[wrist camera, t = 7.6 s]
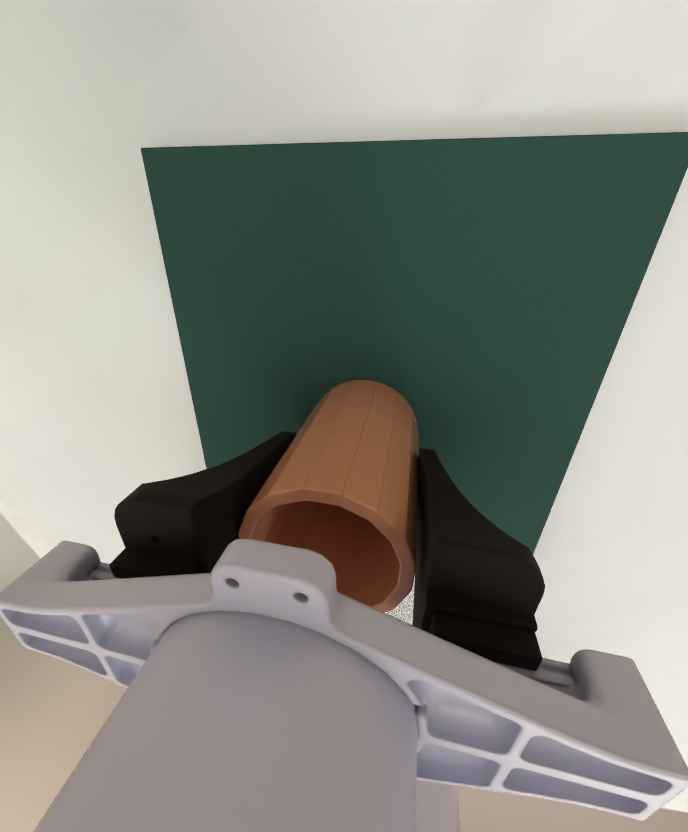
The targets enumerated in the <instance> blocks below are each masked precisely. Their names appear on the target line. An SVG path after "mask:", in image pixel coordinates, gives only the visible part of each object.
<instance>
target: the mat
mask: <svg viewBox="0 0 688 832" xmlns="http://www.w3.org/2000/svg"><path fill="white" fill-rule="evenodd" d="M141 152H142V157H143V162H144V166H145V171H146V176H147V181H148V186H149V191H150V196H151V200H152V205H153V210H154V215H155V220H156V225H157V230H158V234H159V239H160V244H161V249H162V254H163V259H164V264H165V268H166V273H167V278H168V283H169V288H170V293H171V298H172V303H173V307H174V312H175V317H176V322H177V327H178V332H179V337H180V341H181V346H182V351H183V356H184V361H185V366H186V371H187V375H188V380H189V385H190V390H191V395H192V400H193V405H194V410H195V414H196V419H197V424H198V429H199V434H200V439H201V444H202V448H203V453H204V458H205V463H206V468H207V469H209V468H212V467H215V466H217V465H220V464H222V463H224V462H227V461H229V460H231V459H233V458H236V457H238V456H239V455H241V454H243V453H245V452H247V451H249V450H251V449H253V448H255V447H256V446H258V445H260V444H261V443H263V442H265V441H267V440H268V439H270V438H272V437H273V436H275V435H277V434H278V433H280V432H282V431H288V432H296V435H297V433H298V432H299V430H300V429H301V427H302V426H303V424H304V423H305V421H306V420H307V418H308V417H309V415H310V414H311V412H312V411H313V409H314V408H315V406H316V405H317V403H318V402H319V401H320V400H321V399H322V397H323V396H324V395H325V394H326V393H327V392H328V391H329V390H331V389H332V388H333V387H335V386H337V385H339V384H342V383H344V382H348V381H352V380H370V381H376V382H379V383H382V384H385V385H387V386H389V387H391V388H393V389H394V390H396V391H397V392H398V393H400V394H401V395H402V396H403V397H404V398H405V399H406V400H407V402H408V403H409V404H410V406H411V407H412V409H413V411H414V413H415V416H416V419H417V424H418V431H419V443H418V457H419V450H420V448H424V449H432V450H435V451H436V453H437V455H438V457H439V459H440V461H441V463H442V465H443V466H444V468H445V470H446V471H447V473H448V475H449V476H450V478H451V479H452V481H453V482H454V484H455V485H456V486H457V488H458V489H459V490H460V492H461V493H462V494H463V495H464V497H465V498H466V499H467V500H468V501H469V502H470V503H471V504H472V505H473V506H474V507H475V508H476V509H477V510H478V511H479V512H480V513H481V514H482V515H483V516H485V517H486V518H487V519H488V520H489V521H490V522H492V523H493V524H494V525H495V526H497V527H498V528H500V529H501V530H502V531H504V532H505V533H506V534H508V535H509V536H511V537H513V538H514V539H516V540H517V541H519V542H521V543H522V544H524V545H525V546H527V547H529V548H530V550H531V552H532V554H533V553H534V551H535V548H536V546H537V543H538V541H539V538H540V536H541V533H542V531H543V528H544V526H545V523H546V521H547V518H548V516H549V513H550V511H551V508H552V505H553V503H554V500H555V498H556V495H557V493H558V490H559V488H560V485H561V483H562V480H563V478H564V475H565V473H566V470H567V468H568V465H569V463H570V460H571V458H572V455H573V453H574V450H575V448H576V445H577V443H578V440H579V438H580V435H581V433H582V430H583V428H584V425H585V423H586V420H587V418H588V415H589V413H590V410H591V408H592V405H593V403H594V400H595V398H596V395H597V393H598V390H599V388H600V385H601V383H602V380H603V378H604V375H605V373H606V370H607V368H608V365H609V363H610V360H611V358H612V355H613V353H614V350H615V348H616V345H617V343H618V340H619V338H620V335H621V333H622V330H623V328H624V325H625V323H626V320H627V318H628V315H629V313H630V310H631V308H632V305H633V303H634V300H635V298H636V295H637V293H638V290H639V288H640V285H641V283H642V280H643V278H644V275H645V273H646V270H647V268H648V265H649V263H650V260H651V258H652V255H653V253H654V250H655V248H656V245H657V243H658V240H659V238H660V235H661V233H662V230H663V228H664V225H665V223H666V220H667V218H668V215H669V213H670V210H671V208H672V205H673V203H674V200H675V198H676V195H677V193H678V190H679V188H680V185H681V183H682V180H683V178H684V175H685V173H686V170H687V168H688V132H675V133H640V134H606V135H571V136H537V137H503V138H468V139H434V140H400V141H365V142H331V143H297V144H262V145H228V146H193V147H159V148H141Z"/></svg>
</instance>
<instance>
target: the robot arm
mask: <svg viewBox="0 0 688 832" xmlns="http://www.w3.org/2000/svg"><path fill="white" fill-rule="evenodd" d="M295 436H296V432H288V431H282V432H280V433H278V434H277V435H275V436H273V437H272V438H270V439H268V440H267V441H265V442H263V443H261V444H260V445H258V446H256V447H255V448H253V449H251V450H249V451H247V452H245V453H243V454H241V455H239V456H238V457H236V458H233V459H231V460H229V461H227V462H224V463H222V464H220V465H217V466H215V467H212V468H209V469H206V470H203V471H200V472H197V473H193V474H190V475H186V476H182V477H178V478H173V479H169V480H163V481H157V482H151V483H145V484H141V485H140V486H139V487H138V488H137V489H136V490H134V491H133V492H132V493H131V494H130V495H129V496H128V497H126V498H125V499H124V500H123V501H122V502H121V503H119V504H118V506H117V507H116V509H115V521H116V525H117V527H118V530H119V532H120V535H121V537H122V540H123V542H124V545H125V549H124V550H123V551H122V552H121V553H120V554H119V555H118V556H117V557H116V558H115V560H114V561H113V562H112V563H111V564H106V563H102V562H100V558H99V555H98V553H97V552H96V550H95V549H94V548H92V547H91V546H88V545H84V544H80V543H75V542H70V541H62V542H61V543H60V544H58V545H57V546H56V547H55V548H54V549H52V550H51V551H50V552H49V553H47V554H46V555H45V556H44V557H43V558H41V559H40V560H39V561H38V562H37V563H36V564H34V565H33V566H32V567H31V568H29V569H28V570H27V571H26V572H25V573H23V574H22V575H21V576H20V577H19V578H17V579H16V580H15V581H14V582H12V583H11V584H10V585H9V586H8V587H7V588H5V589H4V590H3V591H2V592H0V616H1V617H2V618H3V620H4V621H5V622H6V624H7V625H8V626H9V628H10V629H11V630H12V632H13V633H14V634H15V636H16V637H17V639H18V640H19V641H20V643H21V644H22V645H23V647H24V648H27V649H30V650H34V651H37V652H40V653H43V654H47V655H49V656H52V657H55V658H58V659H60V660H63V661H66V662H69V663H71V664H73V665H76V666H78V667H80V668H83V669H85V670H87V671H90V672H92V673H94V674H96V675H99V676H101V677H103V678H105V679H108V680H110V681H112V682H114V683H116V684H119V685H121V686H123V687H125V688H127V690H126V692H125V693H124V695H123V696H122V698H121V699H120V701H119V702H118V704H117V705H116V707H115V709H114V710H113V712H112V713H111V715H110V716H109V718H108V719H107V721H106V722H105V724H104V725H103V727H102V728H101V730H100V731H99V733H98V734H97V736H96V737H95V739H94V740H93V742H92V743H91V745H90V746H89V748H88V749H87V751H86V753H85V754H84V755H83V757H82V758H81V760H80V761H79V763H78V764H77V766H76V767H75V769H74V770H73V772H72V774H71V775H70V777H69V778H68V780H67V781H66V783H65V784H64V786H63V787H62V789H61V790H60V792H59V793H58V795H57V796H56V798H55V799H54V801H53V802H52V804H51V805H50V807H49V808H48V810H47V811H46V813H45V814H44V816H43V818H42V819H41V820H40V822H39V823H38V825H37V826H36V828H35V830H34V831H33V832H460V822H459V808H458V807H459V806H458V791H457V786H462V787H469V788H476V789H483V790H490V791H497V792H504V793H510V794H517V795H525V796H531V797H537V798H543V799H549V800H554V801H561V802H566V803H571V804H575V805H580V806H585V807H589V808H594V809H599V810H603V811H607V812H611V813H614V814H618V815H622V816H626V817H630V818H634V819H637V820H642V821H643V820H645V819H646V818H648V817H649V816H650V815H652V814H653V813H654V812H655V811H657V810H658V809H659V808H661V807H662V806H663V805H665V804H666V803H667V802H669V801H670V800H671V799H672V798H674V797H675V796H676V795H678V794H679V793H680V792H682V791H683V790H684V789H685V788H687V787H688V768H687V766H686V764H685V762H684V760H683V758H682V756H681V754H680V752H679V750H678V748H677V746H676V744H675V742H674V740H673V738H672V736H671V734H670V732H669V730H668V728H667V726H666V724H665V722H664V720H663V718H662V716H661V714H660V712H659V710H658V708H657V706H656V704H655V702H654V700H653V698H652V696H651V694H650V692H649V690H648V688H647V686H646V684H645V683H644V681H643V679H642V677H641V675H640V673H639V671H638V669H637V667H636V665H635V663H634V661H633V660H632V659H630V658H628V657H623V656H618V655H613V654H608V653H604V652H599V651H594V650H581V651H578V652H577V653H575V654H574V656H573V657H572V659H571V662H570V664H568V663H563V662H559V661H554V660H550V659H545V658H542V655H541V652H540V649H539V645H538V642H537V638H536V635H535V632H536V631H537V623H536V620H535V617H534V614H535V612H536V610H537V607H538V605H539V603H540V601H541V599H542V596H543V594H544V589H545V584H544V580H543V576H542V574H541V571H540V568H539V566H538V564H537V562H536V560H535V558H534V556H533V554H532V552H531V550H530V548H529V547H527V546H525V545H524V544H522V543H521V542H519V541H517V540H516V539H514V538H513V537H511V536H509V535H508V534H506V533H505V532H504V531H502V530H501V529H500V528H498V527H497V526H495V525H494V524H493V523H492V522H490V521H489V520H488V519H487V518H486V517H485V516H483V515H482V514H481V513H480V512H479V511H478V510H477V509H476V508H475V507H474V506H473V505H472V504H471V503H470V502H469V501H468V500H467V499H466V498H465V497H464V495H463V494H462V493H461V492H460V490H459V489H458V488H457V486H456V485H455V484H454V482H453V481H452V479H451V478H450V476H449V475H448V473H447V471H446V470H445V468H444V466H443V465H442V463H441V461H440V459H439V457H438V455H437V453H436V451H435V450H432V449H424V448H420V450H419V457H418V495H417V546H416V570H415V589H414V609H413V626H412V625H410V624H408V623H406V622H403V621H401V620H399V619H397V618H394V617H392V616H390V615H388V614H386V613H383V612H381V611H379V610H377V609H374V608H372V607H370V606H368V605H365V604H363V603H361V602H359V601H357V600H354V599H352V598H350V597H348V596H345V595H343V594H341V593H339V592H338V591H337V588H336V573H335V570H334V567H333V565H332V564H331V563H330V562H329V561H328V560H327V559H326V558H325V557H324V556H323V555H321V554H319V553H316V552H313V551H311V550H307V549H302V548H296V547H291V546H286V545H280V544H275V543H270V542H264V541H259V540H253V539H239V535H238V533H239V529H240V526H241V524H242V521H243V519H244V516H245V514H246V511H247V509H248V508H249V506H250V505H251V503H252V502H253V500H254V499H255V497H256V496H257V494H258V493H259V491H260V490H261V488H262V487H263V485H264V484H265V482H266V481H267V479H268V478H269V476H270V474H271V473H272V471H273V470H274V468H275V467H276V465H277V464H278V462H279V461H280V459H281V458H282V456H283V455H284V453H285V452H286V450H287V449H288V447H289V446H290V444H291V443H292V441H293V440H294V438H295Z"/></svg>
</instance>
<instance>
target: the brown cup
mask: <svg viewBox="0 0 688 832" xmlns="http://www.w3.org/2000/svg"><path fill="white" fill-rule="evenodd" d="M418 443H419V431H418V424H417V419H416V416H415V413H414V411H413V409H412V407H411V406H410V404H409V403H408V402H407V400H406V399H405V398H404V397H403V396H402V395H401V394H400V393H398V392H397V391H396V390H394V389H393V388H391V387H389V386H387V385H385V384H382V383H379V382H376V381H370V380H352V381H348V382H344V383H342V384H339V385H337V386H335V387H333V388H332V389H331V390H329V391H328V392H327V393H326V394H325V395H324V396H323V397H322V399H321V400H320V401H319V402H318V403H317V405H316V406H315V408H314V409H313V411H312V412H311V414H310V415H309V417H308V418H307V420H306V421H305V423H304V424H303V426H302V427H301V429H300V430H299V432H298V433H297V435H296V436H295V438H294V440H293V441H292V443H291V444H290V446H289V447H288V449H287V450H286V452H285V453H284V455H283V456H282V458H281V459H280V461H279V462H278V464H277V465H276V467H275V468H274V470H273V471H272V473H271V474H270V476H269V478H268V479H267V481H266V482H265V484H264V485H263V487H262V488H261V490H260V491H259V493H258V494H257V496H256V497H255V499H254V500H253V502H252V503H251V505H250V506H249V508H248V509H247V511H246V514H245V516H244V519H243V521H242V524H241V526H240V529H239V533H238V535H239V539H253V540H259V541H264V542H270V543H275V544H280V545H286V546H291V547H296V548H302V549H307V550H311V551H313V552H316V553H319V554H321V555H323V556H324V557H325V558H326V559H327V560H328V561H329V562H330V563H331V564H332V565H333V567H334V570H335V573H336V588H337V591H338V592H339V593H341V594H343V595H345V596H348V597H350V598H352V599H354V600H357V601H359V602H361V603H363V604H365V605H368V606H370V607H372V608H374V609H377V610H379V611H381V612H383V613H384V612H387V611H390V610H392V609H394V608H396V607H397V605H398V604H399V603H400V602H401V601H402V600H403V599H404V598H405V597H406V596H407V595H408V594H409V593H410V592H411V590H412V587H413V581H414V575H415V570H416V546H417V495H418Z"/></svg>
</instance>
